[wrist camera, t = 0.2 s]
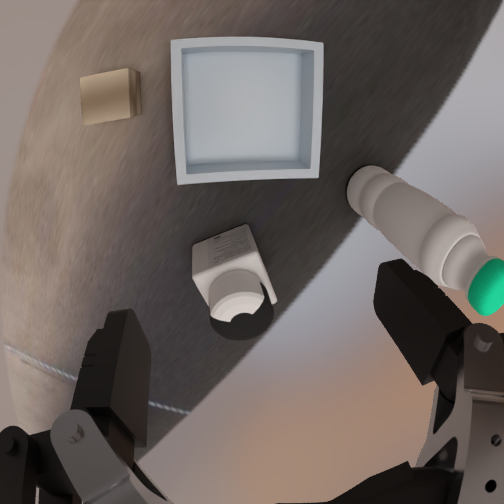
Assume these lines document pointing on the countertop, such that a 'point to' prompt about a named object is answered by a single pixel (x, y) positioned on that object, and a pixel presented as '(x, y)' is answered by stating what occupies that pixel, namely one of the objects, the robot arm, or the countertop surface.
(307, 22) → the countertop surface
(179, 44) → the gray bin
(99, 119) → the maple block
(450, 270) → the water bottle
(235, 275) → the container
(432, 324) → the robot arm
